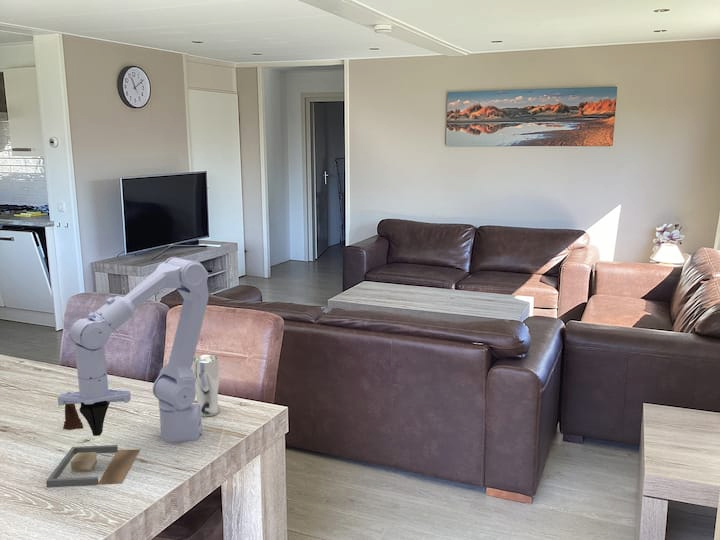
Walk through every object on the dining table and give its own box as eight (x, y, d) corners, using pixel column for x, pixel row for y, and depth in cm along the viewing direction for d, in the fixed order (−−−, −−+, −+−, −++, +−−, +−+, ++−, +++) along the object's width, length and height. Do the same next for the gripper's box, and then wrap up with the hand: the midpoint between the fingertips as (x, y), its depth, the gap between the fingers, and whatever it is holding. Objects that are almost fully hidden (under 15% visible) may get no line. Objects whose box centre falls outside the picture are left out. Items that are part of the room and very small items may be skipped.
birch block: (97, 466, 140) (95, 452, 139) (91, 476, 136) (89, 461, 136) (78, 467, 140) (77, 452, 139) (72, 476, 136) (70, 461, 135)
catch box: (118, 455, 146) (117, 444, 145) (97, 490, 131) (96, 478, 130) (73, 457, 145) (72, 446, 144) (47, 492, 130) (46, 481, 130)
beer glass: (224, 407, 172) (222, 354, 169) (216, 418, 165) (213, 363, 162) (199, 406, 173) (197, 353, 170) (190, 417, 166) (187, 362, 163)
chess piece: (67, 436, 155) (63, 398, 153) (59, 430, 159) (55, 392, 157) (86, 430, 158) (82, 392, 156) (78, 424, 162) (75, 387, 160)
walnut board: (140, 454, 146) (140, 449, 146) (122, 489, 131) (122, 483, 131) (118, 455, 146) (117, 450, 145) (97, 490, 131) (97, 484, 131)
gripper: (49, 382, 131) (56, 443, 133) (122, 380, 132) (127, 440, 135) (62, 370, 137) (68, 429, 140) (131, 368, 139) (135, 426, 142)
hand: (97, 433), depth 138 cm, fingers closed
